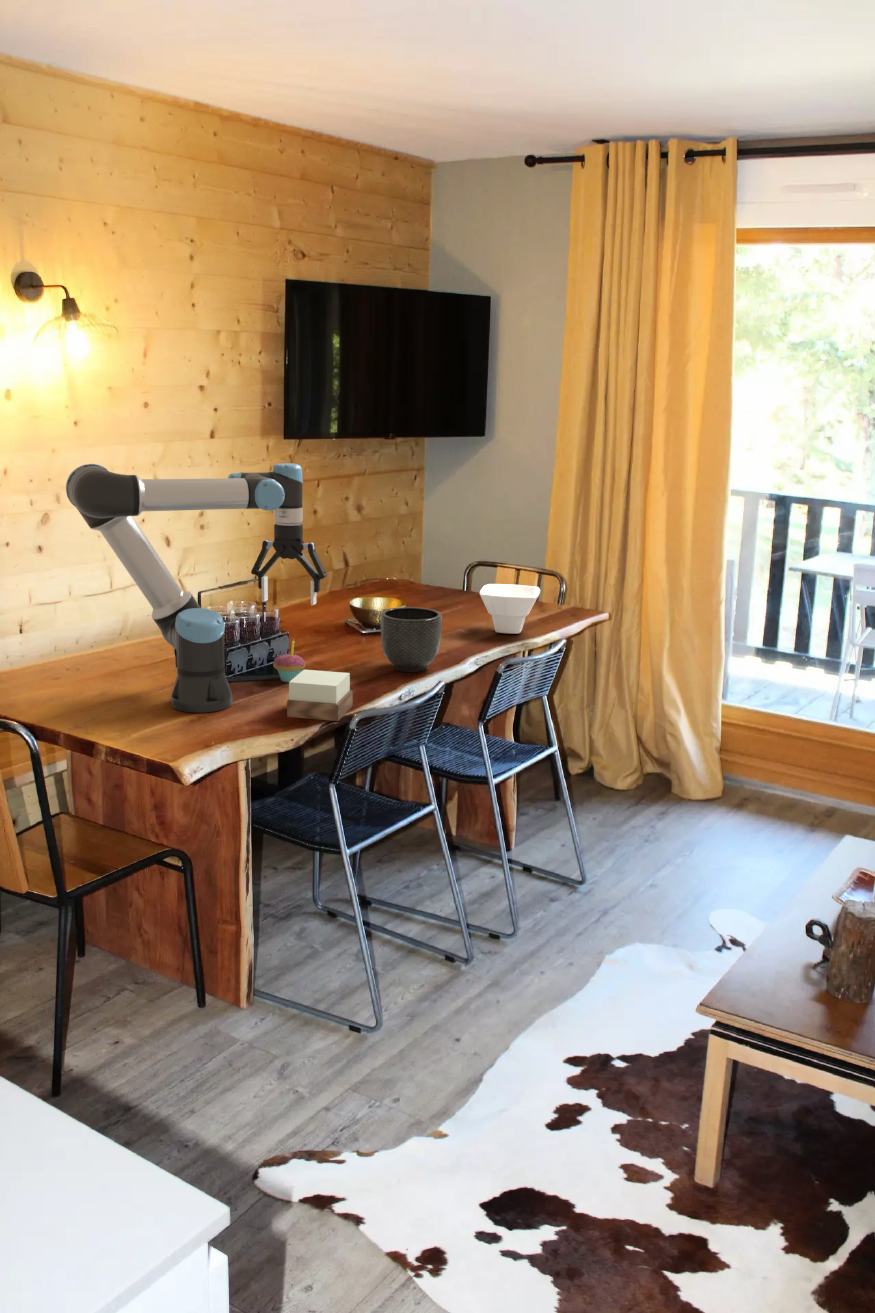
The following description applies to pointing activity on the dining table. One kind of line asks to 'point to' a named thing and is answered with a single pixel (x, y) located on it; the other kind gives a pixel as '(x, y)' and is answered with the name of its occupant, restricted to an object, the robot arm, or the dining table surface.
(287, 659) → the cupcake
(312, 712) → the tower base block
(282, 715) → the dining table surface
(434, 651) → the planter
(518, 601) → the bowl
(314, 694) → the tower top block
